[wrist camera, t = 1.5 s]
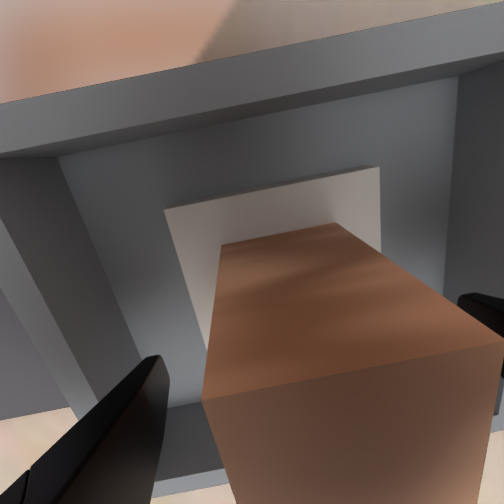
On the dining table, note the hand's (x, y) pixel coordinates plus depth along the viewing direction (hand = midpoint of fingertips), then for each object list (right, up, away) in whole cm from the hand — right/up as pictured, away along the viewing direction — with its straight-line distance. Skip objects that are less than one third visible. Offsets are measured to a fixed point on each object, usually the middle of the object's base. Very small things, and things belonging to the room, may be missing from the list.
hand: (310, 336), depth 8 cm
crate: (0, +2, +5) cm, 5 cm away
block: (0, +1, +3) cm, 3 cm away
